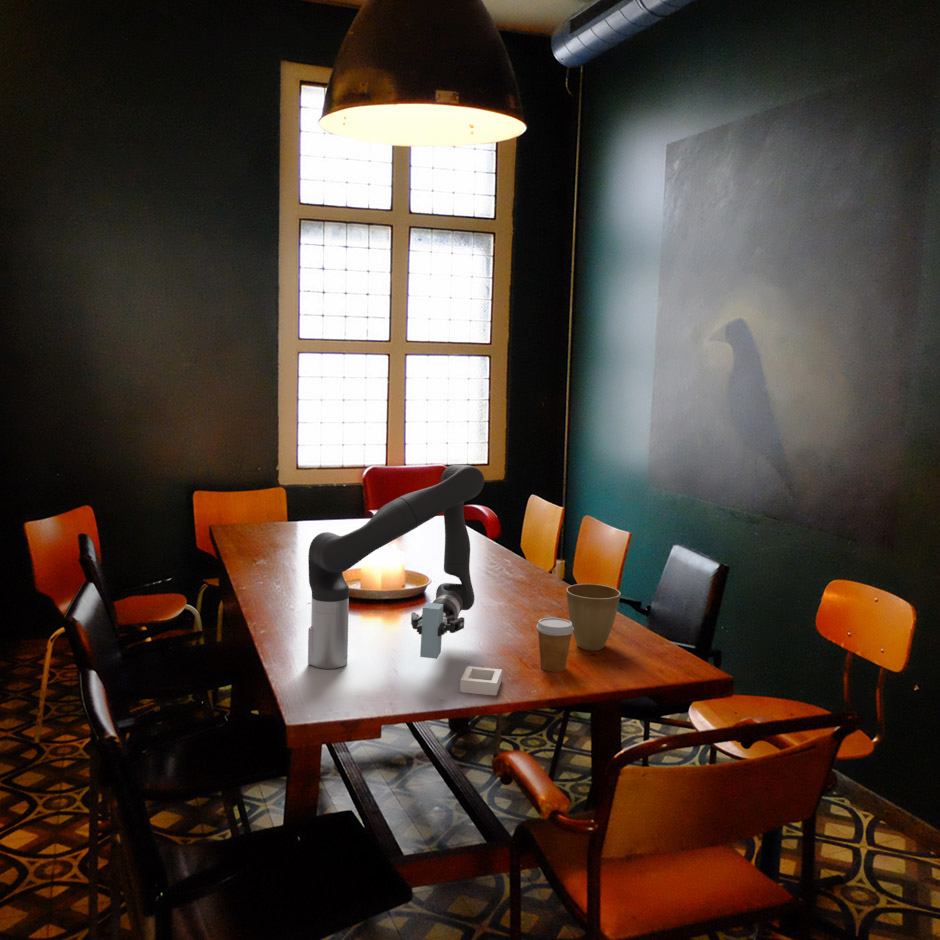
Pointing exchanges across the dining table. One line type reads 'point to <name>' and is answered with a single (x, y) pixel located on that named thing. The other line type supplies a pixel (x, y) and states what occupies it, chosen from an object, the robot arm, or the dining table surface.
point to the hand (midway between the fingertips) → (429, 631)
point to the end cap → (481, 680)
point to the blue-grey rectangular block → (431, 630)
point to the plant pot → (592, 613)
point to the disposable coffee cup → (554, 642)
